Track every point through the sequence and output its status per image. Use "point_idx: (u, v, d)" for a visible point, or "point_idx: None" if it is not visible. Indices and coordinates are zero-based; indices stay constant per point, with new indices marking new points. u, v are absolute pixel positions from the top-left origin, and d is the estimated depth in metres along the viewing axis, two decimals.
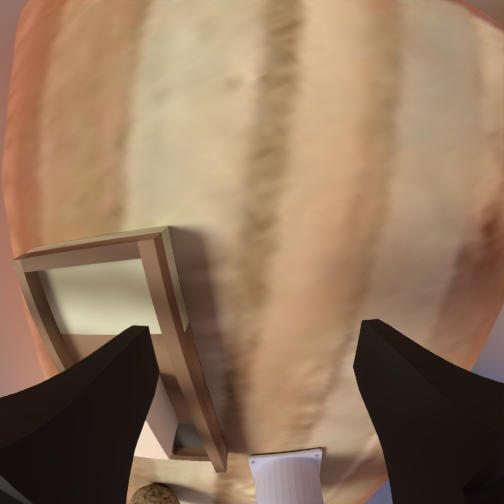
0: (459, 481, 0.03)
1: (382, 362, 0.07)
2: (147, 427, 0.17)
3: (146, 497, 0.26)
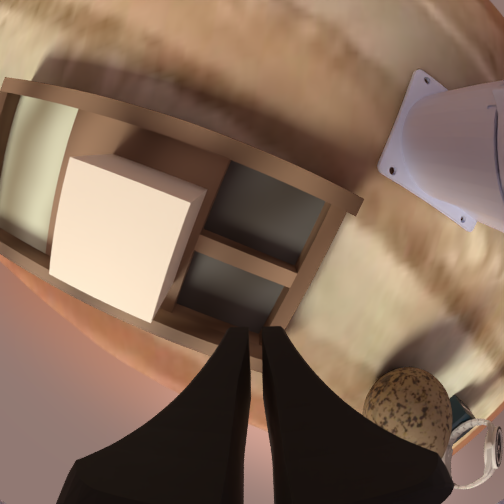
0: None
1: (266, 372, 0.07)
2: (94, 169, 0.11)
3: (373, 404, 0.18)
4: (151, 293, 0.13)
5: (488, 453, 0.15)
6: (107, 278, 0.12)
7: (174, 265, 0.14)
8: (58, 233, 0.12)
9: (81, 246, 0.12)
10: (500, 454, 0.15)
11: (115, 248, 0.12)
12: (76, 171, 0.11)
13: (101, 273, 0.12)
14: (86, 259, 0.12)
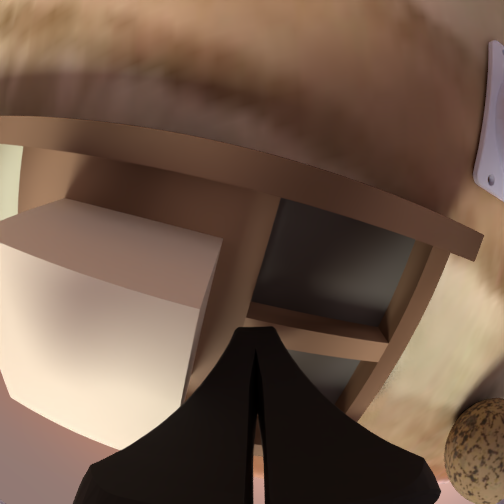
0: None
1: (257, 372, 0.07)
2: (9, 252, 0.05)
3: (459, 452, 0.11)
4: None
5: None
6: (86, 416, 0.06)
7: (189, 375, 0.08)
8: None
9: (33, 372, 0.06)
10: None
11: (83, 382, 0.06)
12: None
13: (75, 409, 0.06)
14: (48, 390, 0.06)
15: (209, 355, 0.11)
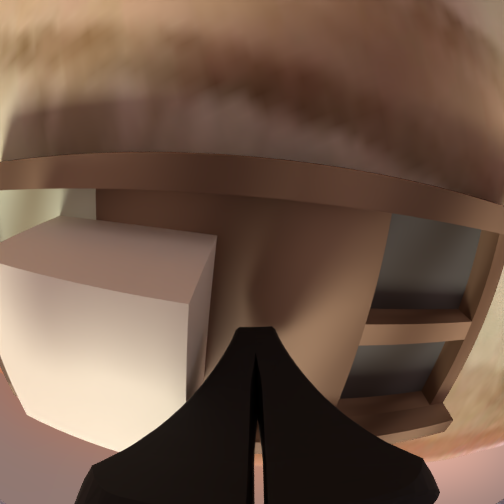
0: None
1: (256, 372, 0.07)
2: (7, 271, 0.05)
3: None
4: None
5: None
6: (99, 425, 0.06)
7: (197, 375, 0.08)
8: (10, 369, 0.06)
9: (44, 386, 0.06)
10: None
11: (90, 390, 0.06)
12: None
13: (88, 420, 0.06)
14: (60, 402, 0.06)
15: (330, 366, 0.11)
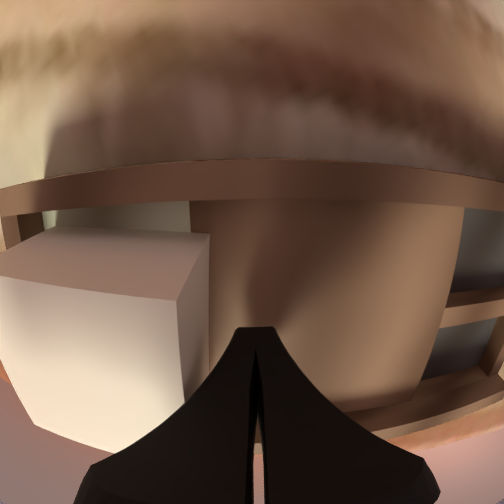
0: None
1: (256, 373, 0.07)
2: (3, 282, 0.05)
3: None
4: None
5: None
6: (103, 430, 0.06)
7: (199, 375, 0.08)
8: (14, 379, 0.06)
9: (47, 394, 0.06)
10: None
11: (91, 395, 0.06)
12: None
13: (92, 425, 0.06)
14: (64, 409, 0.06)
15: (416, 351, 0.11)
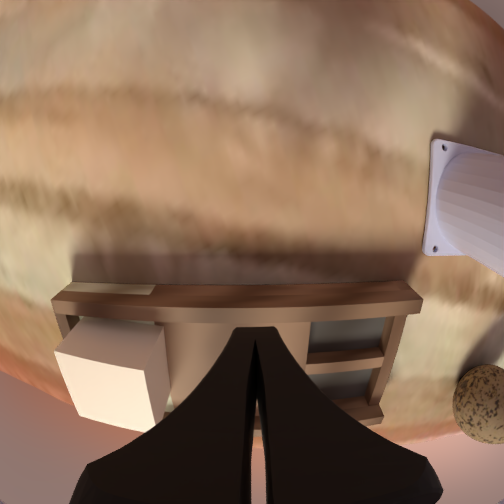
0: None
1: (258, 372, 0.07)
2: (73, 358, 0.14)
3: (459, 407, 0.19)
4: (149, 420, 0.15)
5: None
6: (117, 415, 0.15)
7: (160, 391, 0.17)
8: (73, 394, 0.15)
9: (91, 400, 0.15)
10: None
11: (113, 400, 0.15)
12: (63, 359, 0.14)
13: (112, 413, 0.15)
14: (99, 406, 0.15)
15: None
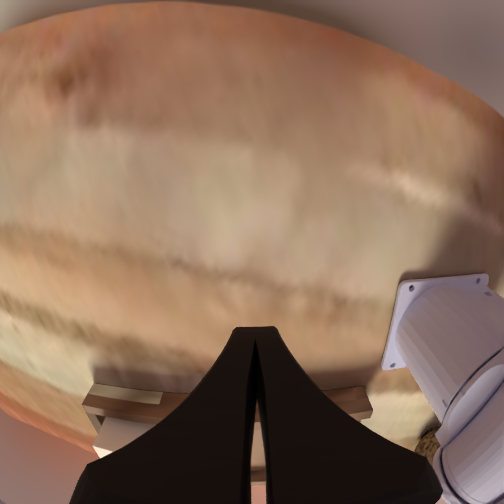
0: None
1: (259, 372, 0.07)
2: (109, 451, 0.17)
3: None
4: None
5: None
6: None
7: None
8: None
9: None
10: None
11: None
12: (100, 450, 0.17)
13: None
14: None
15: None
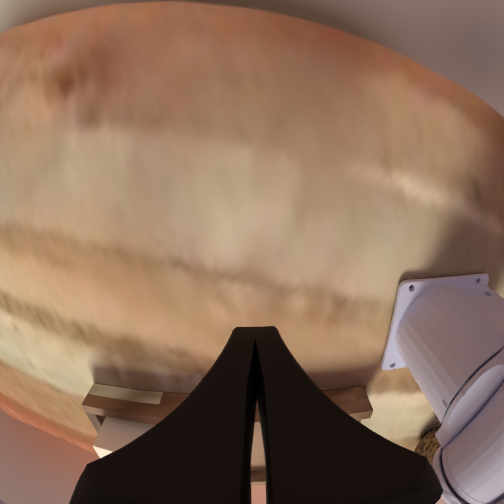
0: None
1: (259, 372, 0.07)
2: (109, 451, 0.17)
3: None
4: None
5: None
6: None
7: None
8: None
9: None
10: None
11: None
12: (100, 450, 0.17)
13: None
14: None
15: None
